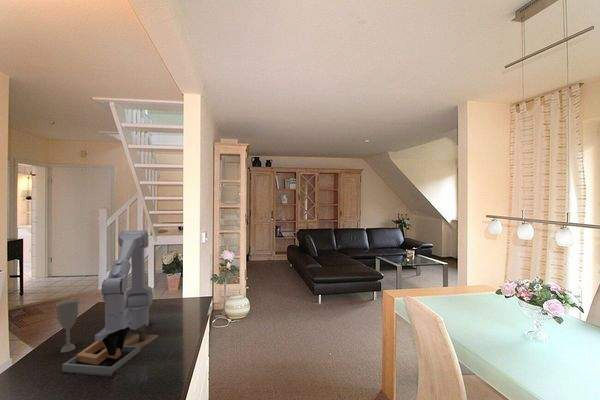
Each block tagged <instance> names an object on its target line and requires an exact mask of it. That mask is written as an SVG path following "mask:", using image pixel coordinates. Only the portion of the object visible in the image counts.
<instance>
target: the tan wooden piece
mask: <svg viewBox="0 0 600 400" xmlns="http://www.w3.org/2000/svg"><path fill="white" fill-rule="evenodd" d="M146 328H148V326H147V324H143V325H142V326H140V327H139V328H137V330H136V332H138V333H131V334H129V335H127V336H126V338H125V341H124V346H140V347H141V349H143V348H145V347H147V345H149V344H150V343H151V342H152V341H154V340H156V338H158V337H159V336H160V335H159V334H147V333H146V331H145V329H146Z"/></svg>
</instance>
